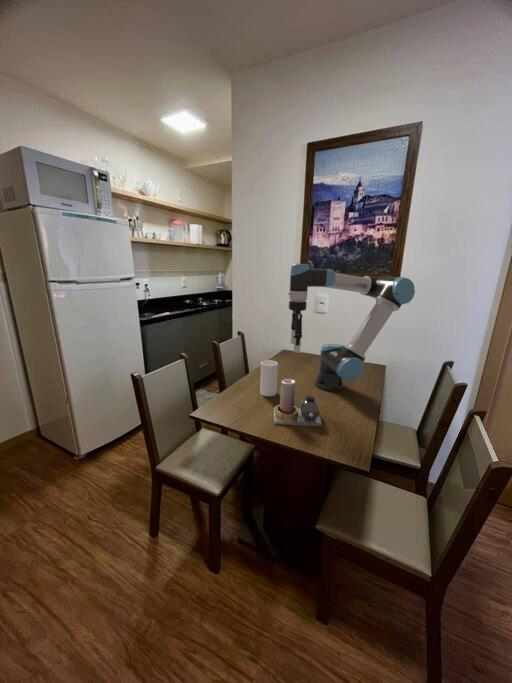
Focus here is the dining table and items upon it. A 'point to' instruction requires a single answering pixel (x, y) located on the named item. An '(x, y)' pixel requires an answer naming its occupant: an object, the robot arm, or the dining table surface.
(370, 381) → the dining table surface
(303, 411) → the motor unit
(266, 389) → the cup
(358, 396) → the dining table surface
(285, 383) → the beverage can
